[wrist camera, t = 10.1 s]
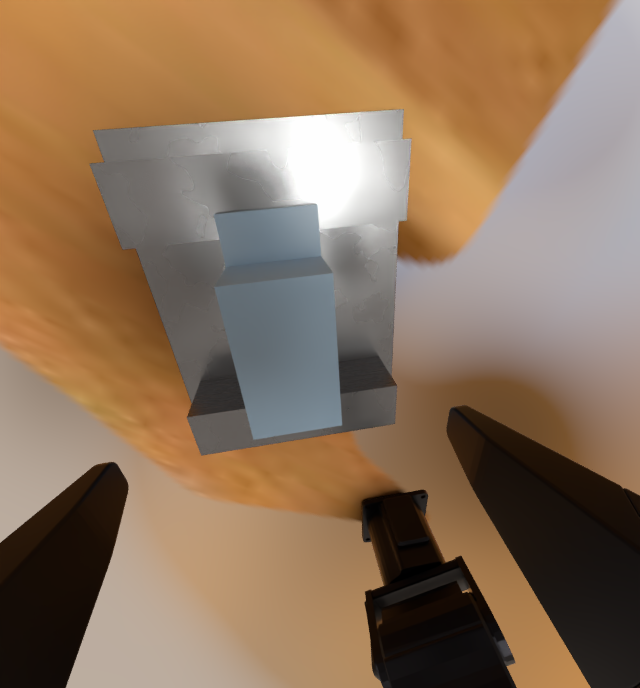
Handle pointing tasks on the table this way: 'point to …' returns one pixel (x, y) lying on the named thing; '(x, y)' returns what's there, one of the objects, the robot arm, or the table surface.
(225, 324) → the block
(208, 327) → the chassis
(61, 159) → the table surface
